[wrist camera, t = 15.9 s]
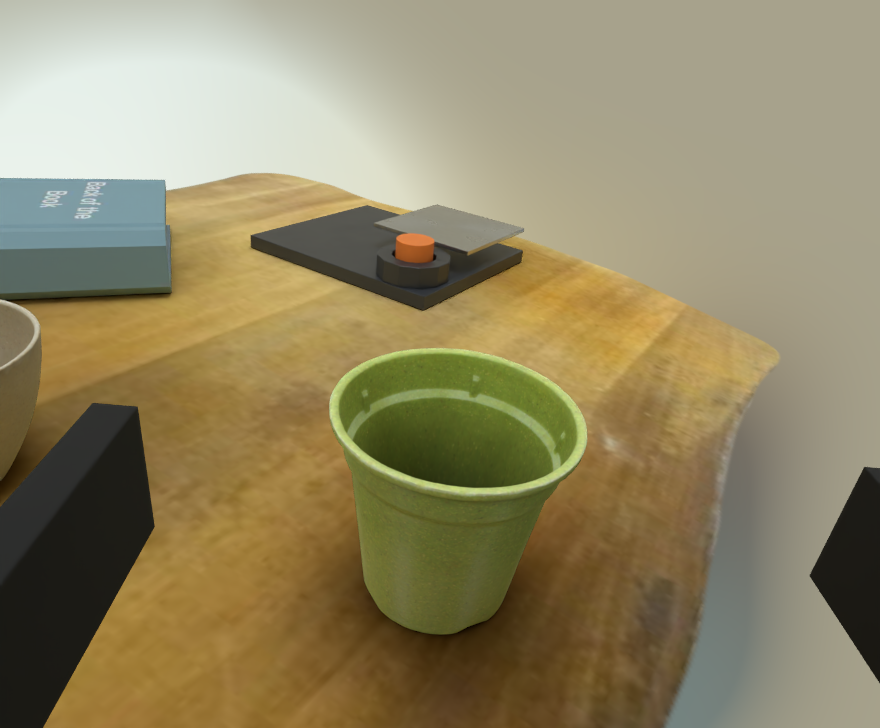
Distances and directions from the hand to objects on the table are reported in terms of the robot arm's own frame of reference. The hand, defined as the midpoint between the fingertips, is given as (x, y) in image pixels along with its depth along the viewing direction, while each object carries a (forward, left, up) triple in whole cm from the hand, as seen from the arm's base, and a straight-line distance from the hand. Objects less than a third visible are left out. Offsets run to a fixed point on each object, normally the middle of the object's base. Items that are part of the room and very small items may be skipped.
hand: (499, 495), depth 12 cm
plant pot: (0, -11, -14) cm, 17 cm away
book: (+34, -41, -14) cm, 55 cm away
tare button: (+2, -43, -11) cm, 45 cm away
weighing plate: (-1, -52, -10) cm, 53 cm away
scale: (+5, -51, -13) cm, 53 cm away
